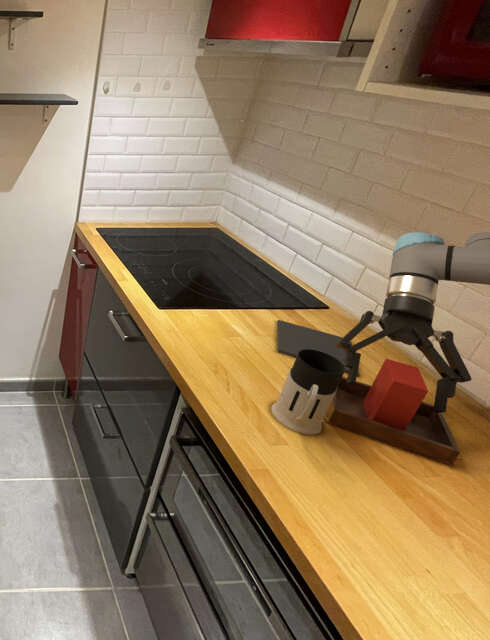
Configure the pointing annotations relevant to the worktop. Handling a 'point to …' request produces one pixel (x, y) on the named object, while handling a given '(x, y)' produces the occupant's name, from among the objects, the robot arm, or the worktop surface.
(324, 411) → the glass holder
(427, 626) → the worktop surface
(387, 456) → the worktop surface
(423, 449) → the dark brown wooden tray
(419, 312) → the robot arm
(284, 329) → the mat
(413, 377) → the block
